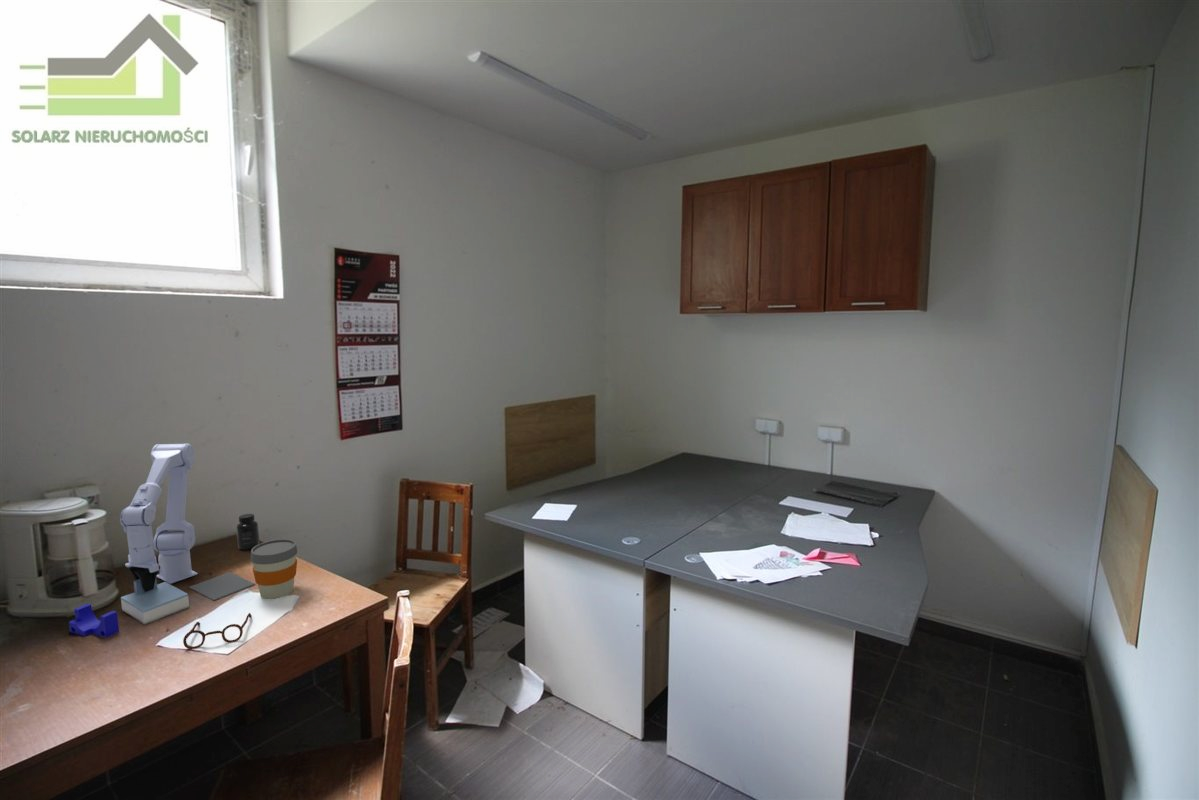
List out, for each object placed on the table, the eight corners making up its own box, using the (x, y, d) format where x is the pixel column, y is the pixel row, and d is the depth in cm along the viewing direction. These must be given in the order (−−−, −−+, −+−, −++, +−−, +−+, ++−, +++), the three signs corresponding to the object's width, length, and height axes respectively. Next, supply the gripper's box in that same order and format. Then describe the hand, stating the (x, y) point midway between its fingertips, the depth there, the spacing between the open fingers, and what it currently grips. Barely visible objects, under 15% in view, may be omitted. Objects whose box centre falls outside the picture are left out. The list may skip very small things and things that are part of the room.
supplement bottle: (264, 543, 208) (261, 513, 207) (251, 550, 202) (248, 519, 200) (247, 542, 209) (244, 512, 207) (233, 549, 202) (230, 518, 201)
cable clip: (70, 632, 150) (67, 611, 149) (89, 623, 154) (87, 603, 153) (100, 641, 146) (97, 620, 145) (119, 632, 150) (116, 611, 150)
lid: (121, 602, 160) (119, 584, 160) (165, 586, 170) (163, 569, 169) (143, 616, 154) (141, 597, 153) (188, 599, 163) (186, 581, 162)
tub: (122, 610, 161) (120, 599, 160) (166, 594, 170) (165, 583, 170) (144, 624, 154) (143, 612, 153) (189, 606, 163) (188, 595, 163)
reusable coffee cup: (303, 580, 181) (300, 537, 179) (295, 599, 169) (292, 553, 167) (259, 585, 177) (256, 541, 175) (248, 605, 165) (244, 557, 163)
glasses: (183, 652, 143) (181, 634, 142) (198, 625, 155) (197, 609, 154) (242, 642, 148) (241, 624, 147) (252, 617, 160) (251, 601, 159)
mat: (189, 588, 174) (189, 586, 174) (229, 573, 185) (229, 572, 184) (214, 601, 167) (214, 599, 167) (255, 584, 177) (254, 583, 177)
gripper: (113, 544, 162) (118, 587, 164) (135, 556, 155) (141, 601, 157) (142, 536, 168) (146, 578, 170) (165, 547, 161) (169, 590, 163)
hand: (146, 588), depth 164 cm, fingers open, 3 cm apart
